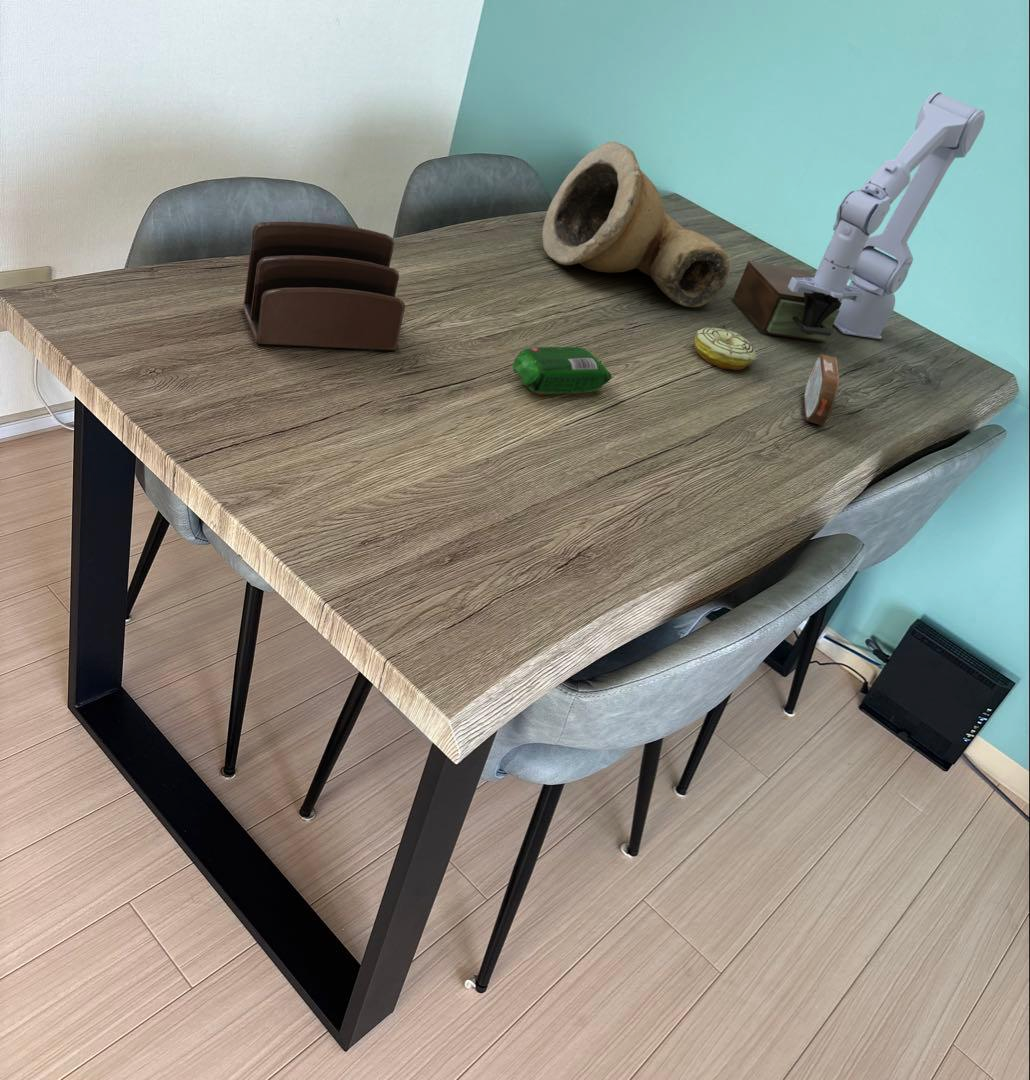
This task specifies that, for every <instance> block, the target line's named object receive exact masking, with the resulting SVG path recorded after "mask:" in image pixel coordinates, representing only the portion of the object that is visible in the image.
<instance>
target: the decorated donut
mask: <svg viewBox="0 0 1030 1080" xmlns="http://www.w3.org/2000/svg"><path fill="white" fill-rule="evenodd" d="M694 348H695V351H696V354H698V355H699V356H700V358H702V359H703V360H705V361H706V362H708V363H709V364H711V365H713V366H715V367H718V368H720V369H726V370H732V371H733V370H734V371H739V370H743V369H745V368H746V367H749V365H751V364H752V363H754V362H756V360H757V353H756V350H755V348H754V346H753V345H752V344H751V342H749V340H748V339H746V338H745V337H743V336H742V335H741V334H739V333H737V332H735V331H732V330H728V329H724V328H720V327H703V328H701V329H698V330H697V332H696V334H695V337H694Z"/></svg>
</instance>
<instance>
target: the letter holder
mask: <svg viewBox="0 0 1030 1080" xmlns="http://www.w3.org/2000/svg"><path fill="white" fill-rule="evenodd" d="M251 232H252V233H251V238H250V248H249V256H248V257H249V258H248V267H247V272H246V273H247V275H246V281H245V290H244V298H243V303H242V304H243V306H242V307H243V312H244V315H245V317H246V320H247V322H248V326H249V328H250V330H251V333H252V336H253V339H254V341H255V343H256V345H269V346H284V347H285V346H286V347H287V346H288V347H306V348H308V347H309V348H327V349H328V348H329V349H331V348H332V349H350V350H352V349H353V350H367V351H369V350H371V351H388V352H389V351H390V352H395V351H397V349H398V347H399V346H398V345H399V339H400V334H401V330H402V323H403V320H404V314H405V309H406V304H405V301H403V300H402V299H401V298H399V297H396V294H397V288H398V283H399V279H400V273H399V270H397V269H395V268H393V267H390V266H391V261H392V257H393V254H394V253H393V252H394V247H395V242H394V239H393V237H391V236H390V235H388V234H386V233H382V232H378V231H375V230H370V229H365V228H361V227H356V226H355V227H354V226H351V225H344V224H336V223H335V224H334V223H324V222H312V221H311V222H309V221H263V222H259V223H256V224H255V225H254V226H253V228H252V230H251Z"/></svg>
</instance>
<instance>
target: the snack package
mask: <svg viewBox="0 0 1030 1080" xmlns="http://www.w3.org/2000/svg"><path fill="white" fill-rule="evenodd" d="M512 370H513V371H514V372H515V373H516V374H517V375H518V377H519V378H520V379H521V381H522V385H523V386H525V387H527V388H528V389H529V390H530V391H531V392H532V393H534V394H535V395H541V396H542V395H543V396H546V395H560V394H561V395H562V394H568V395H569V394H582V393H591V392H595V391H598V390H599V389H601V388H602V387H603V386H604V385H605V384H607V383H608V382H610V381H611V379H612V378H613V377H612V374H611V372H610V371H609V370H608V369H607V367H605V366H604V364H603V363H602V361H601V360H599V359H598V358H597V357H596V356H595V355H594V354H592V353H591V352H590V351H589V350H588V349H586V348H584V347H579V346H533V347H527V348H524V349H522V350H521V351H520V352H519V353H518V354H517V356H516V357H515V359H514V361H513V363H512Z"/></svg>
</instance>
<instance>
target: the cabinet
mask: <svg viewBox="0 0 1030 1080" xmlns="http://www.w3.org/2000/svg"><path fill="white" fill-rule="evenodd" d="M814 276H815V275H813V274H812V273H811V272H810V271H809V270H803V269H797V268H793V267H786V266H779V265H775V264H770V263H762V262H757V261H751V260H748V261H747V264H746V266H745V269H744V271H743V274H742V275H741V278H740V280H739V283H738V286H737V288H736V290H735V292H734V295H733V296H732V299H731V300H732V302H734V303H735V305H736V306H737V307H738V308H739V310H741V312H742V313H743V314H744V315H745V316H746V317H747V319H749V321H750V322H751V323H752V325H754V327H755V328H756V329H757V330H758V331H759V332H760V333H761V334H763V335H768V336H769V335H770V336H777V337H784V338H791V339H798V340H804V341H812V342H819V343H824V340H817V339H810V338H804V337H797V336H790V335H783V334H776V333H769V332H768V331H767V328H768V325H769V323H770V321H771V319H772V316H773V314H774V312H775V310H776V308H777V305H778V303H779V301H780V299H781V298H785V299H791V300H798V301H804V302H805V299H804V292H799V291H798V292H797V293H796V292H792V291H791V290H790V289H789V288H788V285H789V283H790V281H791V278H792V277H794V278H814ZM838 301H840V300H839V299H838ZM841 304H842V303H841ZM840 306H841V305H840ZM839 308H840V307H839Z"/></svg>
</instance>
